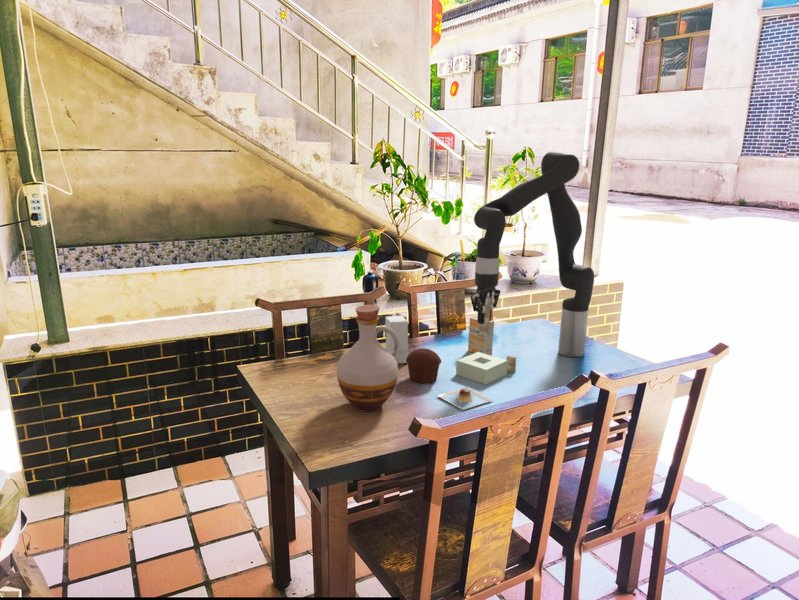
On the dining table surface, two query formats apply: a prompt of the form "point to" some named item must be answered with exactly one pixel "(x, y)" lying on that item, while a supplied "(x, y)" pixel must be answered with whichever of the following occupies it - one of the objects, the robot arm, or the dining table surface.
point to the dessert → (464, 396)
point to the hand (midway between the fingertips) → (484, 321)
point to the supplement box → (480, 337)
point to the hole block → (481, 367)
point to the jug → (368, 364)
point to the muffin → (423, 366)
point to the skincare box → (401, 330)
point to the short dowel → (511, 363)
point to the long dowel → (485, 327)
